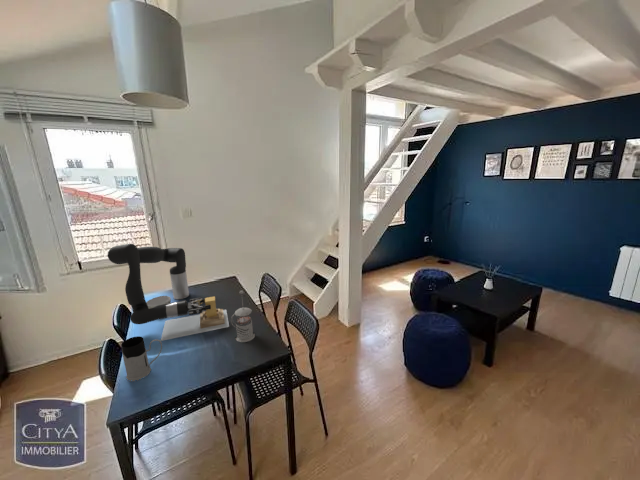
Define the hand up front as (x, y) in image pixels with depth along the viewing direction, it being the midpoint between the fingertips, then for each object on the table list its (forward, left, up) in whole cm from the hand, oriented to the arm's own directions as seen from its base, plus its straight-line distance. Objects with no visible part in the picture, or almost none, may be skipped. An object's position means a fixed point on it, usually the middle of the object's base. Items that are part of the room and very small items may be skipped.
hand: (210, 303), depth 149 cm
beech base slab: (0, 0, -10) cm, 11 cm away
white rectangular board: (0, -8, -11) cm, 14 cm away
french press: (+20, +14, -12) cm, 27 cm away
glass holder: (+30, -27, -12) cm, 42 cm away
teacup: (-22, -28, -12) cm, 37 cm away
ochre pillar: (0, 0, -7) cm, 8 cm away
